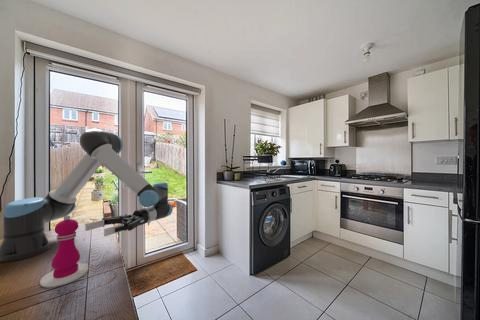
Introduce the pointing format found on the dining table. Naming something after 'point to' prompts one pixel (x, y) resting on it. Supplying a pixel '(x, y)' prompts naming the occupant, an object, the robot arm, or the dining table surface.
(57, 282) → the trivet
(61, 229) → the pepper mill
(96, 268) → the dining table surface
